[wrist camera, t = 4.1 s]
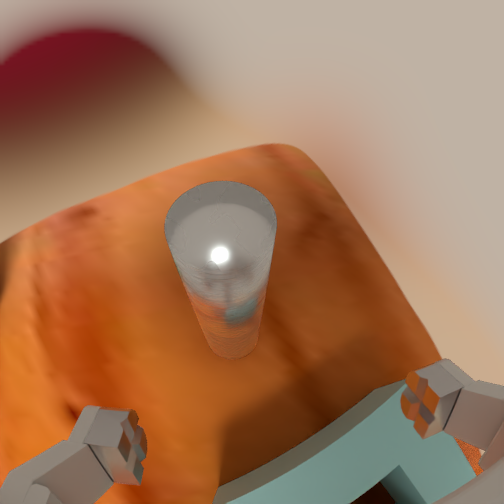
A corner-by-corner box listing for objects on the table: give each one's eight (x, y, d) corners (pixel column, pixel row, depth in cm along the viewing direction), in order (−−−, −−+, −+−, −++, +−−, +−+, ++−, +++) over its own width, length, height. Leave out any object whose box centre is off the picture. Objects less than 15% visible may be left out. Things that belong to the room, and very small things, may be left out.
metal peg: (267, 343, 22) (299, 237, 10) (222, 368, 21) (192, 291, 9) (241, 302, 24) (241, 168, 12) (197, 325, 22) (150, 206, 11)
